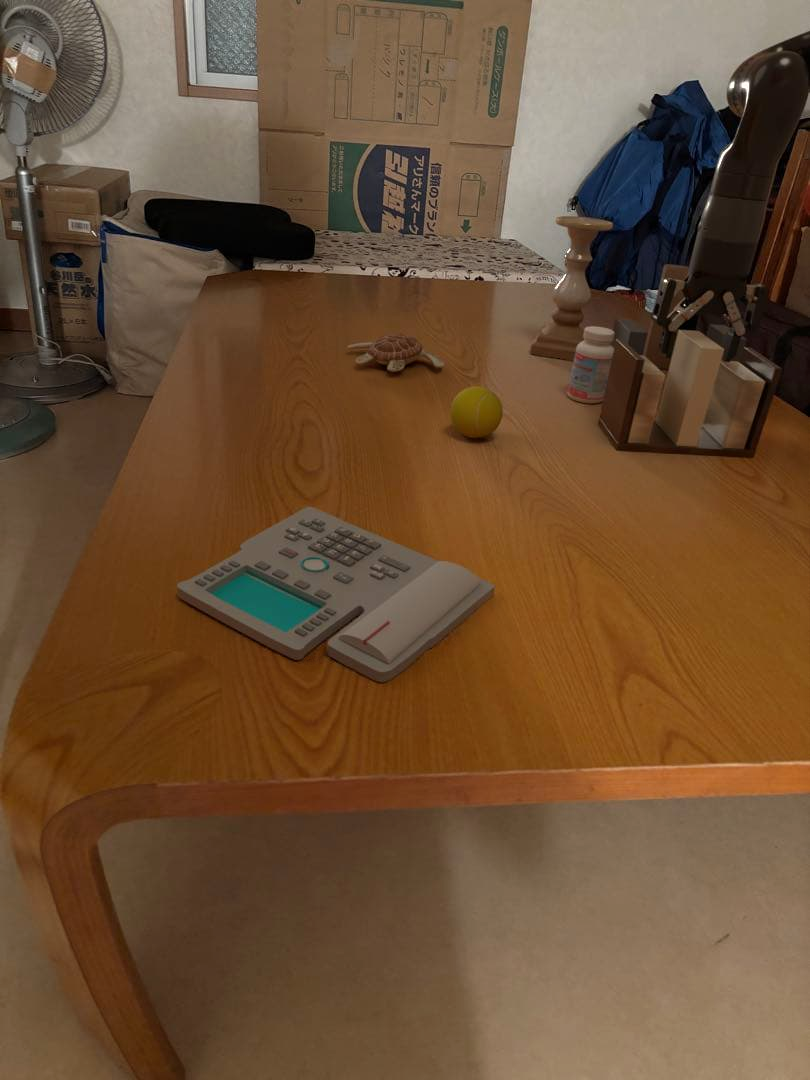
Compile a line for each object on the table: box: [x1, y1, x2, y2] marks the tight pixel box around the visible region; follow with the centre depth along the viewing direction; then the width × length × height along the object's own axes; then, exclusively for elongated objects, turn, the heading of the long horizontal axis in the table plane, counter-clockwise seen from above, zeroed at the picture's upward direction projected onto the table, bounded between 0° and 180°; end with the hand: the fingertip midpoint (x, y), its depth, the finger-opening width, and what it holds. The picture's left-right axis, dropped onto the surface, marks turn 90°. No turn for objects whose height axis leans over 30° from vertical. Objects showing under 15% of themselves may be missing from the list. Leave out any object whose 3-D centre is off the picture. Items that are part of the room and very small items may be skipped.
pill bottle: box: [567, 325, 614, 405], centre depth 124 cm, size 6×6×11 cm
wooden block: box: [643, 263, 689, 371], centre depth 142 cm, size 9×4×18 cm, turn 77°
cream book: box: [655, 329, 724, 447], centre depth 109 cm, size 3×9×14 cm, turn 3°
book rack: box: [597, 339, 783, 459], centre depth 110 cm, size 20×10×13 cm, turn 93°
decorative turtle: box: [346, 332, 445, 373], centre depth 135 cm, size 18×17×5 cm
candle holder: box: [529, 215, 614, 362], centre depth 145 cm, size 11×11×24 cm
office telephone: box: [176, 505, 496, 683], centre depth 71 cm, size 23×3×20 cm
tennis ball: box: [450, 385, 504, 439], centre depth 107 cm, size 7×7×7 cm
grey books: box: [610, 317, 748, 363], centre depth 135 cm, size 20×9×10 cm, turn 93°
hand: (695, 358), depth 107 cm, fingers open, 8 cm apart
